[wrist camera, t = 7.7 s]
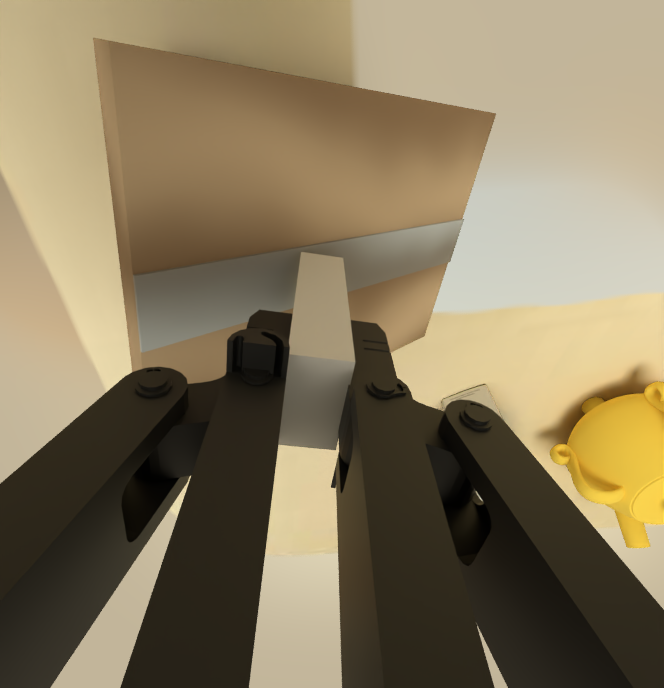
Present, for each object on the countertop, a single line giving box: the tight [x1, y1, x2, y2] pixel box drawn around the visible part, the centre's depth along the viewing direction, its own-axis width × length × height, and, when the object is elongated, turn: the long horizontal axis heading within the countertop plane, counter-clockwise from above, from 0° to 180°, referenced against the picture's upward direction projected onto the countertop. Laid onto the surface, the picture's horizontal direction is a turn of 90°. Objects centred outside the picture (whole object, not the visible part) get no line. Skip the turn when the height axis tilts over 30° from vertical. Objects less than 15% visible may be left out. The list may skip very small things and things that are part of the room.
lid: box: [93, 38, 496, 384], centre depth 17 cm, size 12×17×1 cm
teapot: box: [550, 381, 664, 548], centre depth 40 cm, size 14×14×11 cm
